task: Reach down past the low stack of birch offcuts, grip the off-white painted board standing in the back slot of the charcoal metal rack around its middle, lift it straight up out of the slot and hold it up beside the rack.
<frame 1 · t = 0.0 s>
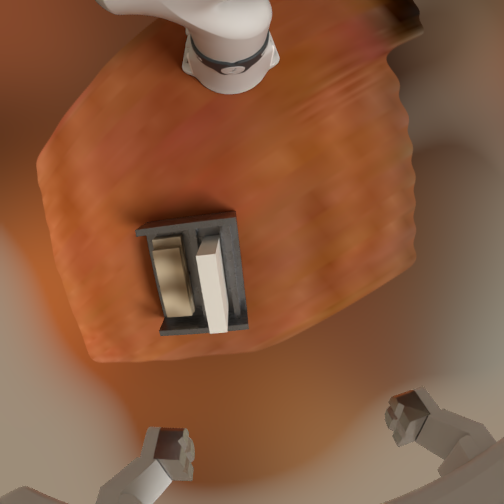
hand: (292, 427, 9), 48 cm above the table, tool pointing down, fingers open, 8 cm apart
rack: (197, 269, 58), on the table
offcut stack: (175, 274, 56), point 1 cm above the table, touching rack
cream slab: (216, 269, 56), point 1 cm above the table, touching rack
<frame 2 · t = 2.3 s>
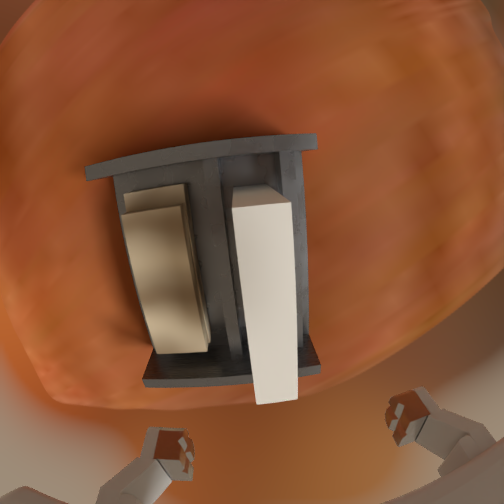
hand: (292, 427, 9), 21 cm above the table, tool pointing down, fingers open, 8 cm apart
rack: (216, 257, 29), on the table
offcut stack: (171, 267, 28), point 1 cm above the table, touching rack
cream slab: (257, 257, 28), point 1 cm above the table, touching rack
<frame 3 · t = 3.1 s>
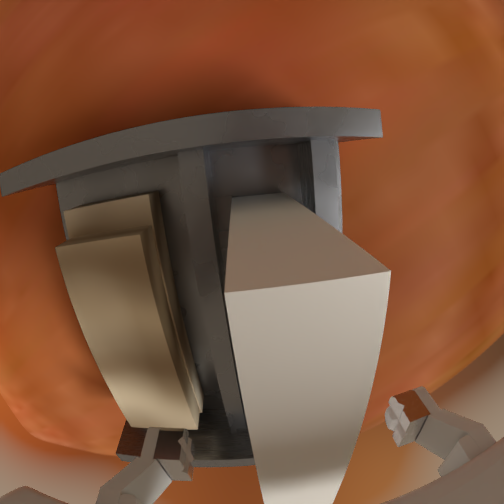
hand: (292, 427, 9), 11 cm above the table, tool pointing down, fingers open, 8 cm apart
rack: (208, 299, 20), on the table
offcut stack: (142, 314, 18), point 1 cm above the table, touching rack
cream slab: (267, 304, 18), point 1 cm above the table, touching rack
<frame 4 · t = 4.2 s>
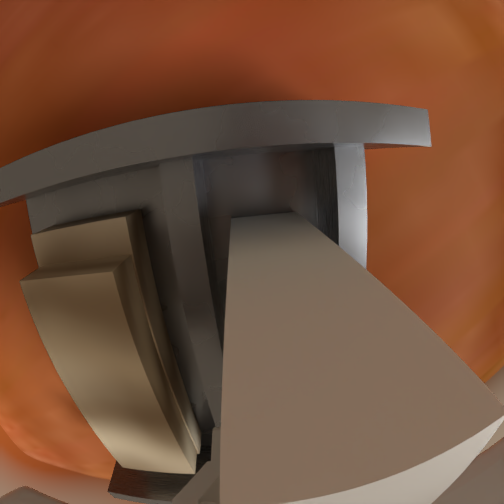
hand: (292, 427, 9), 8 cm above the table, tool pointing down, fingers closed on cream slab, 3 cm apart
rack: (204, 334, 16), on the table
offcut stack: (129, 351, 15), point 1 cm above the table, touching rack
cream slab: (274, 342, 15), point 2 cm above the table, touching gripper, rack
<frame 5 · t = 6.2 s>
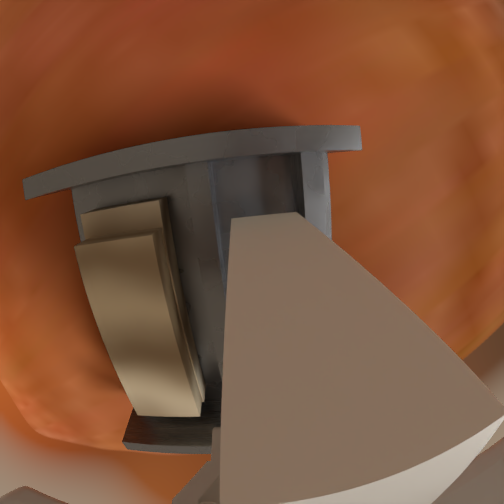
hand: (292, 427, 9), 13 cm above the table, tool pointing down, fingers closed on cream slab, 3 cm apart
rack: (210, 296, 22), on the table
offcut stack: (150, 309, 20), point 1 cm above the table, touching rack
cream slab: (274, 342, 15), point 7 cm above the table, touching gripper
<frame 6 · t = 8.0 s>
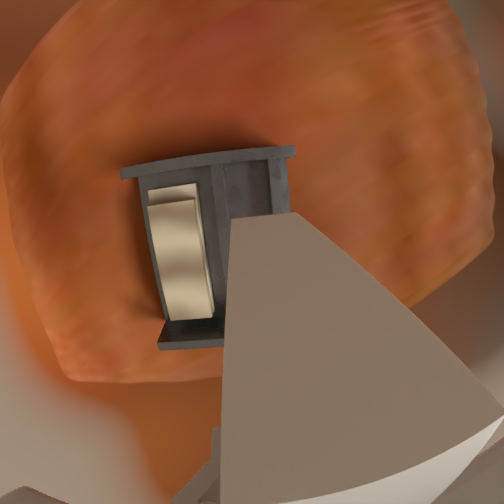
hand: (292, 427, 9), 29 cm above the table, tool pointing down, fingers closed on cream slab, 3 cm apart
rack: (220, 242, 36), on the table
offcut stack: (184, 249, 35), point 1 cm above the table, touching rack
cream slab: (274, 342, 15), point 22 cm above the table, touching gripper
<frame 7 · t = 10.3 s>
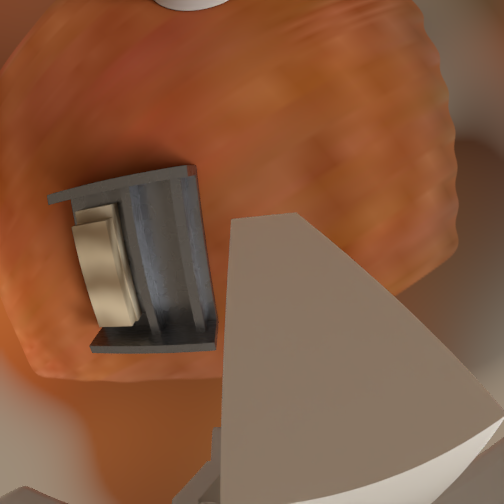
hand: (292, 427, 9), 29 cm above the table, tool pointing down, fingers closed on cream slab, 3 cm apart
rack: (143, 256, 37), on the table
offcut stack: (110, 263, 35), point 1 cm above the table, touching rack
cream slab: (274, 342, 15), point 23 cm above the table, touching gripper
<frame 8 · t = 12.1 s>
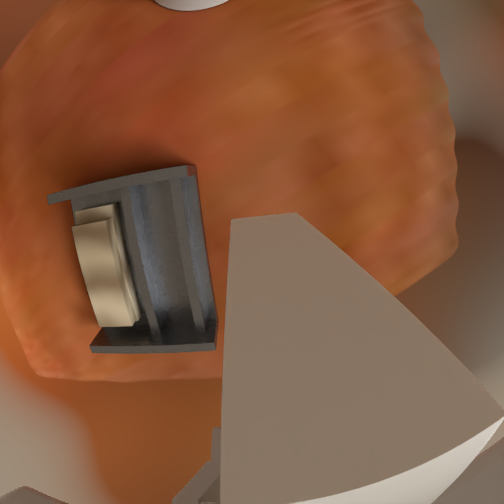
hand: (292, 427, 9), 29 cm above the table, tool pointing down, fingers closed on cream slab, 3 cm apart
rack: (142, 256, 37), on the table
offcut stack: (110, 263, 35), point 1 cm above the table, touching rack
cream slab: (274, 342, 15), point 23 cm above the table, touching gripper
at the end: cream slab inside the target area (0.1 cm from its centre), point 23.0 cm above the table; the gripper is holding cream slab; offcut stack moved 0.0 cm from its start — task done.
